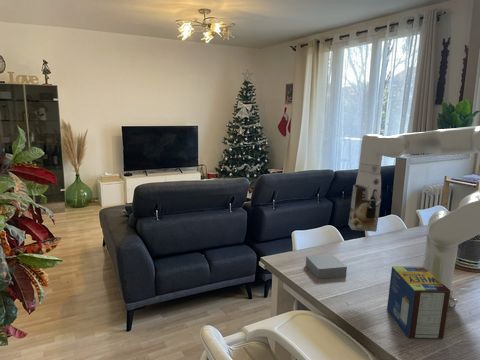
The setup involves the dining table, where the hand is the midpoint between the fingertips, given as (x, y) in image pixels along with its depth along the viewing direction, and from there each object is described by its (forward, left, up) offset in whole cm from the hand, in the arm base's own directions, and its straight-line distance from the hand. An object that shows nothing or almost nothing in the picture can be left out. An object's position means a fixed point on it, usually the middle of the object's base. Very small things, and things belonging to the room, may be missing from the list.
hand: (363, 214), depth 131 cm
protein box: (-29, -2, -27) cm, 40 cm away
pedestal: (+9, +9, -26) cm, 29 cm away
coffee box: (0, 0, -6) cm, 6 cm away
